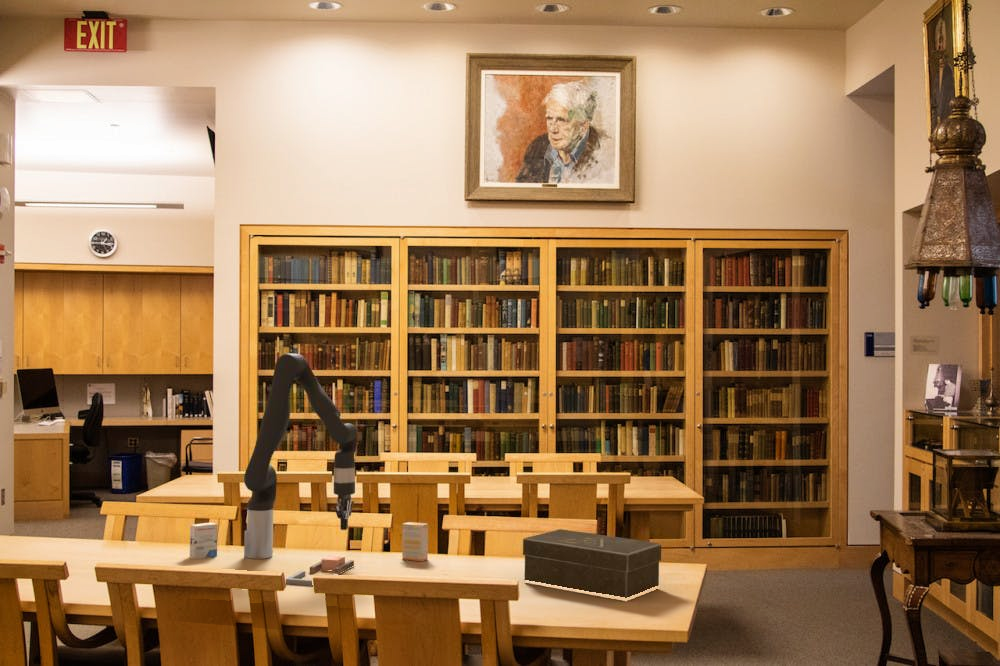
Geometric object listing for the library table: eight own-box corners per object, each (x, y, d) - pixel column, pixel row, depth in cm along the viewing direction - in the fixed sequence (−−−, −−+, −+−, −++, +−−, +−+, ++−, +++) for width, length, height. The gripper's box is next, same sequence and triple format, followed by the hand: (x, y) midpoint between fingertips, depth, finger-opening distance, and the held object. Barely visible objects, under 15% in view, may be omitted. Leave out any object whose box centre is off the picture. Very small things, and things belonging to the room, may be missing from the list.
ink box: (211, 554, 371) (212, 521, 371) (217, 556, 367) (218, 524, 367) (189, 557, 365) (189, 524, 366) (194, 559, 361) (195, 526, 362)
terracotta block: (321, 570, 347) (321, 559, 347) (329, 567, 353) (329, 555, 353) (337, 572, 346) (337, 560, 346) (344, 568, 352) (345, 556, 352)
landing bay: (284, 583, 327) (284, 579, 327) (301, 575, 339) (301, 570, 339) (322, 586, 324) (322, 581, 324) (337, 577, 336) (337, 573, 336)
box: (626, 603, 310) (627, 554, 310) (521, 584, 333) (522, 538, 333) (661, 590, 328) (661, 543, 328) (559, 572, 351) (559, 528, 351)
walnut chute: (309, 572, 343) (309, 567, 343) (325, 564, 356) (326, 558, 357) (338, 575, 340) (338, 569, 341) (353, 566, 354) (353, 560, 354)
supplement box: (428, 559, 367) (428, 523, 368) (421, 562, 363) (422, 525, 363) (408, 557, 371) (408, 521, 371) (401, 559, 366) (402, 523, 367)
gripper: (341, 477, 366) (341, 526, 366) (327, 482, 353) (326, 532, 353) (361, 478, 364) (360, 526, 364) (347, 483, 351) (347, 533, 351)
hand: (344, 529), depth 358 cm, fingers closed
